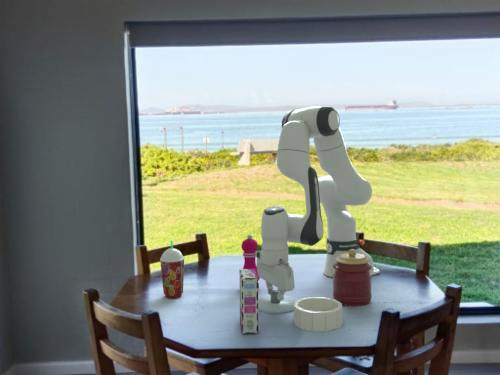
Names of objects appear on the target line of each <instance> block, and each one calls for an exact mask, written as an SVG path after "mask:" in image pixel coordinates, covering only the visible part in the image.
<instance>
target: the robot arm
mask: <svg viewBox="0 0 500 375" xmlns="http://www.w3.org/2000/svg"><path fill="white" fill-rule="evenodd" d="M340 121H341V120H340V116H339V113H338V111H337V110H336V109H335V108H334V107H332V106H328V105H327V106H326V105H323V106H309V107H305V108H299V109H292V110H289V111H287V112H286V113H285V114H284V116H283V118H282V120H281V131H280V134H279V139H278V144H277V152H276V153H277V154H276V164H277V165H276V166H277V169H278V171H279V172H280V173H281V174H282V175H283V176H285V177H286V178H288V179H291V180H293V181H294V182H297V183H298V184H300V185H301V186H302V187H303V190H304V198H305V209H306V210H305V214H294V213H288V212H287V210H286V208H285V207H283V206H279V205H278V206H277V205H275V206H270V207H269V206H268V207H267V208H265V209H264V210H263V212H262V216H261V224H260V230H261V232H260V233H261V234H260V236H261V240H262V241H261V242H262V243H261V250H256V266H257V273H258V276H259V277H260V279H262V280H263V281H265V286H266V288H267V295H271V292H270V291H272V290H275V289H274V287H275V288H277V290H278V291H279V292H278V294H277V300H279V301H282V300H283V299H284V295H285V293H287V292H292V291H294V289H295V276H294V271H293V267H291V266H290V263H289V244H288V243H294V244H302V245H305V246H311V247H312V246H315V245H316V244H318V243H319V242H321V240H322V239H323V237H324V223H323V222H324V221H323V218H322V217H323V216H322V212H321V211H322V210H321V207H322V208H323V210H324V214H325V217H326V225H327V226H326V228H327V238H326V242H325V243H326V246H325V247H326V248H325V249H326V260H325V265H324V269H323V274H324V275H325V276H327V277H330V278H333V274H334V268H333V264H334V263H336V260H335V258H336V257H338V256H339V255H341V254H344V253H348V251H349V250H350V249H354V250H355V251H356V253H358V254H362V255H364V256H365V257H367V258H368V259H369V262H368V263H369V264H370V265H371V266H372V269H371V270H370V275H371V276H374V275H375V276H376V275H377V274H380V269H379V268H377V267H375V265H374V260H373V257H372V256H371V255H370V254H369V253H367V252H366V251H365V250H363V249H362V248H360V246H364V244H365V240H364V239H358V238H357V236H356V234H357V230H356V228H357V222H356V219H355V217H354V215H352V214H351V213H350V212H349V209H348V208H347V206H349V207H350V206H352V207H356V206H363V205H366V204H368V203H369V202H370V200H371V198H372V196H373V189H372V185H371V183H370V182H369V181H368V180H366V179H365V177H364V178H363V177H362V176H361V174H360V173H359V172H358V171H357V169H356V168H355V167H354V166H353V164H352V161H351V159H350V158H349V154H348V151H347V148H346V147H347V146H346V143H345V140H344V137H343V136H344V135H343V133H342V129H341V128H340V123H341V122H340ZM310 139H313V145H314V148H315V152H316V155H317V159H318V163H319V166H320V168H321V169H322V170H323V171H324V172H325V173H326V174H327V175H325V176H321V177H318V173H317V171H316V169H315V168H314V167H312V165H311V161H310V144H311V143H310Z"/></svg>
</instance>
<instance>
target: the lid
mask: <svg viewBox="0 0 500 375" xmlns="http://www.w3.org/2000/svg"><path fill="white" fill-rule="evenodd" d="M270 292H271V295H269V294H266V295H265V294H264V295H261V296H258V312H261V313H269V314H282V313H289V312H292V311H293V312H294V302H295V301H297V300H299V299H298V298H296V297H294V296H292V295H286V294H284V299H283V300H282V301H279V300H277V294H278V292H279V291H278V289H274V290H272V291H270Z"/></svg>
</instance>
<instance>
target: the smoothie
mask: <svg viewBox="0 0 500 375" xmlns="http://www.w3.org/2000/svg"><path fill="white" fill-rule="evenodd" d="M173 243H174V242H173V240H170V248H167V249H165V251H164V252H163V253H162V254H161V256H160V258H159V260H160V261H159V262H160V269H161V271H160V272H161V280H162V291H163V295H164V297H165V298H166V299H170V300H171V299H172V300H174V299H179V298H181V297H182V295H183V293H184V279H185V278H184V276H185V273H184V272H185V257H184V256H183V254H182V252H181V250H179V249H177V248H174V246H173Z"/></svg>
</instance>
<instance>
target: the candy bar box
mask: <svg viewBox="0 0 500 375" xmlns="http://www.w3.org/2000/svg"><path fill="white" fill-rule="evenodd" d="M238 272H239V323H240V329H241V334H242V335H256V334H257V335H259V311H258V297H259V288H258V283H259V281H258V277H257V274H256V272H255V269H243V268H240V269H239V271H238Z"/></svg>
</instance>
